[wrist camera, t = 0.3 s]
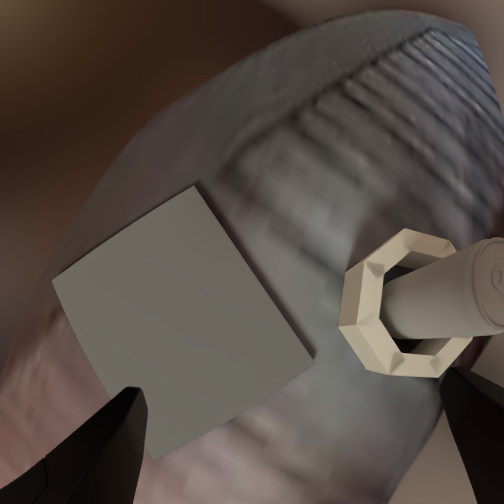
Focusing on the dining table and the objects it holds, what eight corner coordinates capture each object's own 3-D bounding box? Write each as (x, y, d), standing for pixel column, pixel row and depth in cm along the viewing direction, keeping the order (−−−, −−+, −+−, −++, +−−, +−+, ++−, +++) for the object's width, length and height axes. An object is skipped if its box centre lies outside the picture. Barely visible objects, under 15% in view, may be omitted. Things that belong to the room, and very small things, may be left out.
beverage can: (405, 350, 22) (514, 351, 10) (361, 318, 23) (459, 299, 11) (431, 300, 23) (537, 270, 11) (390, 267, 24) (487, 214, 12)
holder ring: (463, 318, 23) (491, 314, 19) (384, 397, 21) (408, 406, 17) (404, 225, 25) (427, 208, 21) (315, 294, 23) (329, 286, 19)
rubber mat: (313, 362, 22) (315, 363, 21) (156, 456, 19) (154, 460, 18) (195, 189, 25) (193, 185, 24) (56, 282, 22) (51, 280, 22)
